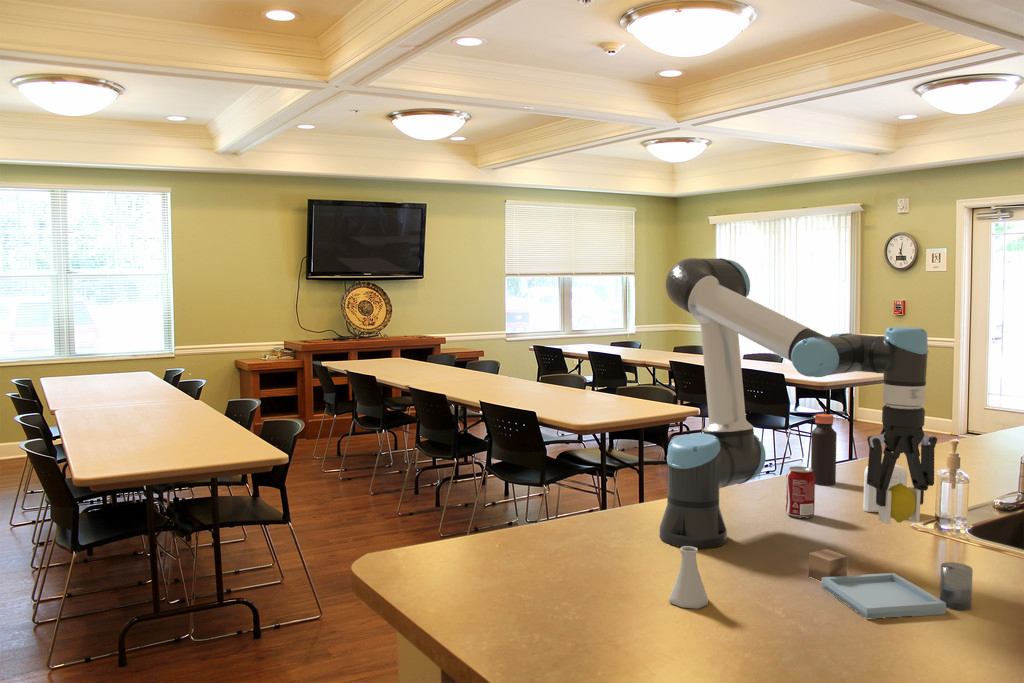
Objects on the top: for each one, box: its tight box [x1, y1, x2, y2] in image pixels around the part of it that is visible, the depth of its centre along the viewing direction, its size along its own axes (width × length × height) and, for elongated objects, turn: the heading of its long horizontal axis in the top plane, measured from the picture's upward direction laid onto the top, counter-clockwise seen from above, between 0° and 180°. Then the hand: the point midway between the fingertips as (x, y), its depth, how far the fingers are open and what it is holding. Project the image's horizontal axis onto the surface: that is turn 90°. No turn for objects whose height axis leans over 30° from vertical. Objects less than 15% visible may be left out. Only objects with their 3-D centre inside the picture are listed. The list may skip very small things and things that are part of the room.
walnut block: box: [808, 548, 848, 582], centre depth 157 cm, size 5×5×5 cm
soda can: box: [785, 465, 816, 519], centre depth 200 cm, size 7×7×12 cm
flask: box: [668, 546, 709, 609], centre depth 146 cm, size 7×7×10 cm
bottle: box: [810, 413, 837, 486], centre depth 233 cm, size 7×7×20 cm
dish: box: [821, 572, 947, 620], centre depth 146 cm, size 15×15×2 cm
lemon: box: [888, 483, 915, 524], centre depth 158 cm, size 6×6×8 cm
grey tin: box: [939, 561, 974, 611], centre depth 144 cm, size 5×5×7 cm
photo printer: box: [862, 462, 908, 513], centre depth 203 cm, size 10×4×12 cm, turn 84°
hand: (898, 520), depth 158 cm, fingers closed on lemon, 5 cm apart
